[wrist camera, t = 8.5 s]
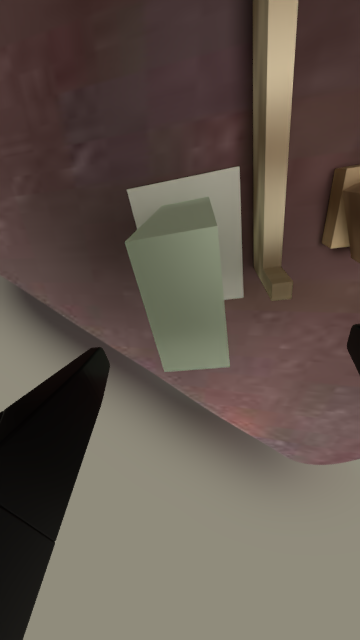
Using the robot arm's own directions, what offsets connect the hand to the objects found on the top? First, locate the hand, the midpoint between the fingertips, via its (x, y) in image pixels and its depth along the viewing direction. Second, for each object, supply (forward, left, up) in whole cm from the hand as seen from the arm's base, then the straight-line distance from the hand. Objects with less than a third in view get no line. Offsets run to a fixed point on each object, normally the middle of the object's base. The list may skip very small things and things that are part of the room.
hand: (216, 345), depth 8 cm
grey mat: (0, +1, -13) cm, 13 cm away
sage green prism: (0, +1, -12) cm, 12 cm away
